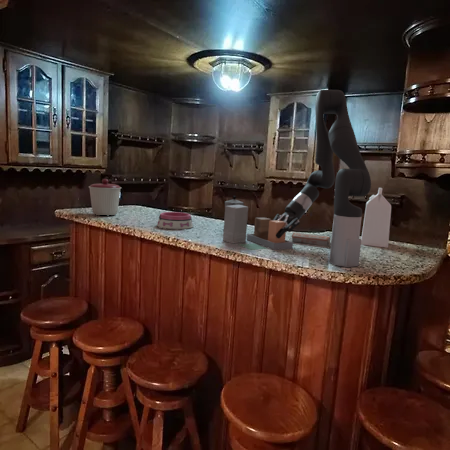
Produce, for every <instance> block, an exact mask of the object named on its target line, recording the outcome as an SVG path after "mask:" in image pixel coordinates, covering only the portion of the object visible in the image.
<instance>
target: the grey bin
mask: <svg viewBox="0 0 450 450" xmlns="http://www.w3.org/2000/svg"><path fill="white" fill-rule="evenodd" d="M246 240H247V241H249V242H253V244H257V245H259V246H262V247H265V248H267V249H271V250H274V251H277V250H287V249H290V250H291V249H293V246H294V244H293V242H290V241H288V240H287V239H285V242H284V243H273V242H270V241H267V240H264V239H262V238H259V237H256V236H254V233H246Z"/></svg>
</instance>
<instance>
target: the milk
mask: <svg viewBox="0 0 450 450" xmlns="http://www.w3.org/2000/svg"><path fill="white" fill-rule="evenodd" d="M368 199H369V200H368V201H366V203H365V210H364V216H363V217H364V218H363V226H362V230H361V231H362V232H361V238H360V239H361V246H362V245H364V246H370V247H371V246H373V247H381V248H389V242H390V241H389V240H390V231H391V230H390V228H391V216H392V204H391V203H390V202H389V201H388V200H387V199H386V198H385V196H384V195H383V188H382V187H378V190H377V194H372V195H371V196H370V197H369V198H368Z"/></svg>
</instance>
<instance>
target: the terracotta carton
mask: <svg viewBox="0 0 450 450" xmlns="http://www.w3.org/2000/svg"><path fill="white" fill-rule="evenodd" d="M283 225H284V221H278V220H275V221H273V220H271V221H269V231H268V241H270V242H273V243H284V242H285V240H286V235H287V234H286V233H287V232H285V233H284V234H283V235H282V236H281V237H280V238H277V237H276V234H277V232H278V231H279V230H280V229H282V226H283Z"/></svg>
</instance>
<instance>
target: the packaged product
mask: <svg viewBox="0 0 450 450" xmlns="http://www.w3.org/2000/svg"><path fill="white" fill-rule="evenodd" d="M287 241H290V242H293V245H300V246H301V245H302V246H309V247H318V248H325V249H329V248H331V237H330V236H327V235H326V236H325V235H319V234H310V233H304V232H292V234H291V237H290V238H289V239H288V240H287Z"/></svg>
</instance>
